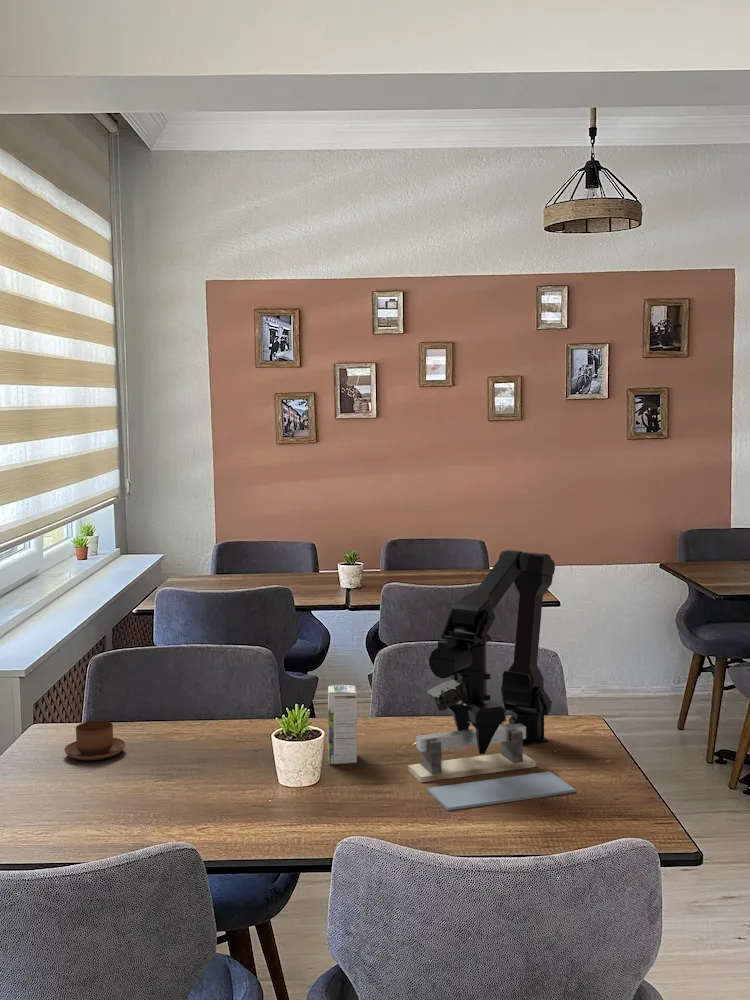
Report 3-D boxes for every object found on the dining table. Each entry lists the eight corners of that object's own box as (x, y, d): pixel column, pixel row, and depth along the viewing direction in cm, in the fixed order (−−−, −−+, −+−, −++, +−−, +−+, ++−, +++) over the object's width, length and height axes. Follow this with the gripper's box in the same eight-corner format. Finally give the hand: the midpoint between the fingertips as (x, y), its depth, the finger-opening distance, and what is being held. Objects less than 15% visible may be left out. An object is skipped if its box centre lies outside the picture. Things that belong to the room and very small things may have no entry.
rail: (520, 735, 202) (520, 723, 202) (525, 738, 200) (525, 726, 200) (416, 748, 195) (416, 735, 195) (421, 751, 193) (420, 739, 193)
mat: (549, 774, 194) (549, 771, 194) (575, 792, 185) (575, 789, 185) (426, 790, 187) (426, 788, 186) (447, 810, 177) (447, 807, 177)
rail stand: (519, 755, 205) (519, 721, 204) (536, 766, 198) (535, 731, 198) (407, 770, 198) (407, 734, 197) (420, 782, 191) (420, 745, 190)
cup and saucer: (52, 761, 206) (51, 731, 206) (89, 743, 217) (88, 715, 217) (101, 768, 202) (100, 737, 201) (137, 749, 213) (136, 720, 212)
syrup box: (327, 755, 207) (326, 685, 206) (356, 754, 207) (355, 684, 206) (328, 764, 201) (327, 692, 200) (358, 763, 202) (357, 691, 201)
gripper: (415, 660, 203) (416, 737, 204) (451, 683, 185) (452, 767, 186) (466, 655, 206) (467, 731, 207) (507, 677, 189) (507, 759, 190)
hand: (472, 746), depth 198 cm, fingers open, 9 cm apart
